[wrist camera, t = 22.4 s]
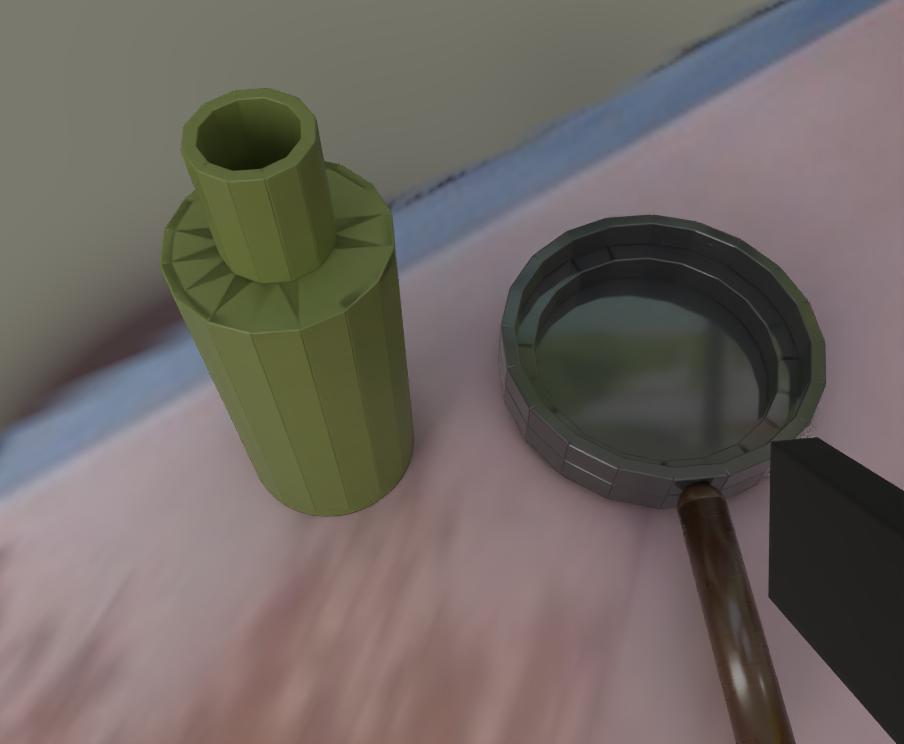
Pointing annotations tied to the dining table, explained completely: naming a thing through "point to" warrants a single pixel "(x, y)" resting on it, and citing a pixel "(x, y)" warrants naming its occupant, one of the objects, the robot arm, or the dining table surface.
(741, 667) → the pan handle
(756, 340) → the pan
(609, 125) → the dining table surface
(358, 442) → the oil bottle
